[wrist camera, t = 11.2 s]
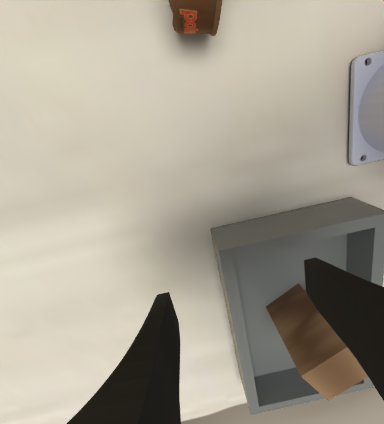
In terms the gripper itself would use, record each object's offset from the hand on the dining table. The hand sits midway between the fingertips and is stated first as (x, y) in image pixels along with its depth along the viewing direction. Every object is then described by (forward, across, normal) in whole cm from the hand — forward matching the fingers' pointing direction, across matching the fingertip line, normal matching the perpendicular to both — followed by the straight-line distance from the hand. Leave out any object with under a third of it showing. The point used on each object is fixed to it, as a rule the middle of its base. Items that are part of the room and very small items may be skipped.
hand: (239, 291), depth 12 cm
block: (+8, -6, +11) cm, 15 cm away
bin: (+9, -6, +11) cm, 16 cm away
